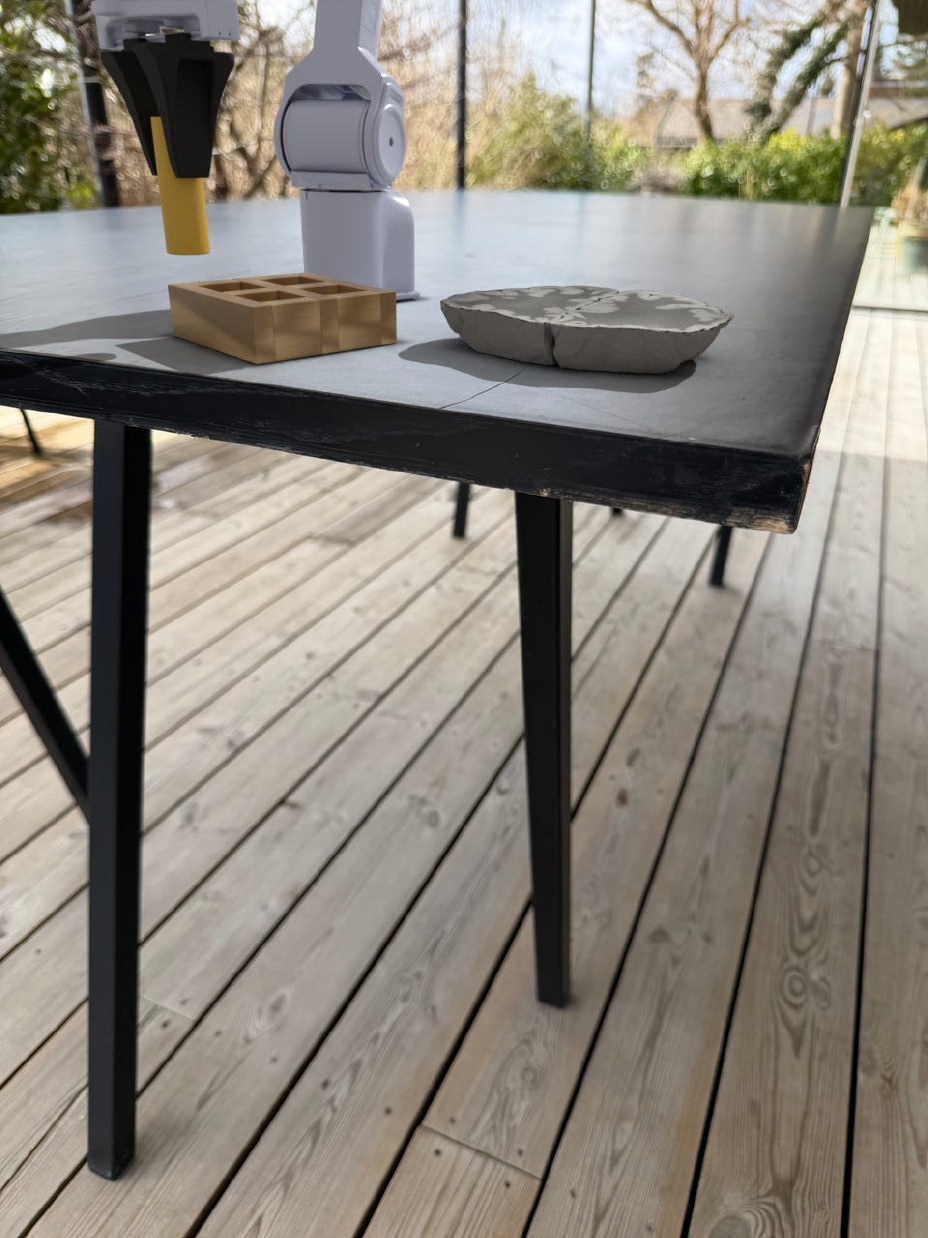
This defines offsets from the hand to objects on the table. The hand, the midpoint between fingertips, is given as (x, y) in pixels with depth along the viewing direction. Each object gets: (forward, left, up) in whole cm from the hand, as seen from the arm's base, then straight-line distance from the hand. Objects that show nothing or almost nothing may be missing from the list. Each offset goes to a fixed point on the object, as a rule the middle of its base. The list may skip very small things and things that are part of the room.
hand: (179, 176), depth 59 cm
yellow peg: (0, 0, -5) cm, 5 cm away
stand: (-5, +3, -10) cm, 12 cm away
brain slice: (-21, +18, -11) cm, 29 cm away
